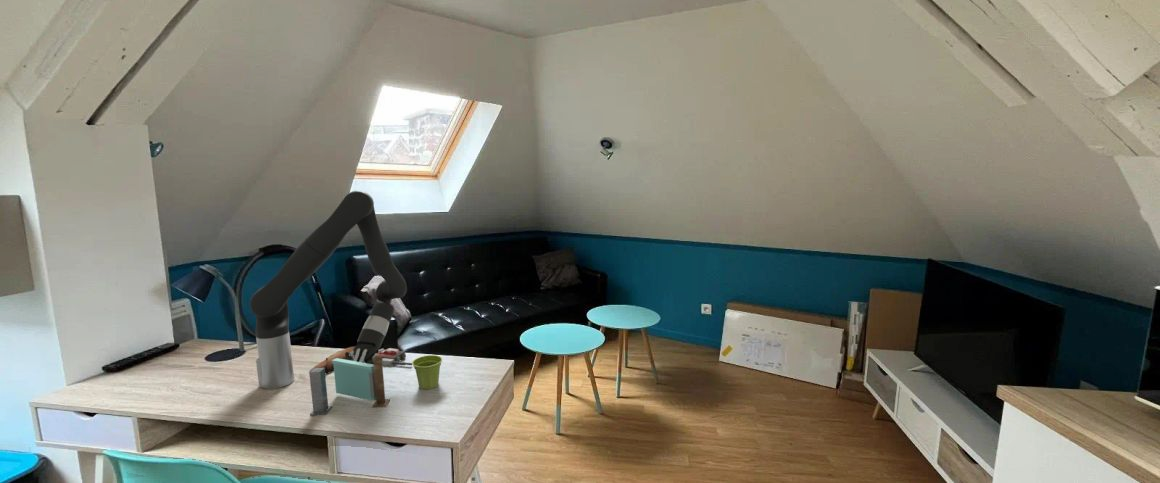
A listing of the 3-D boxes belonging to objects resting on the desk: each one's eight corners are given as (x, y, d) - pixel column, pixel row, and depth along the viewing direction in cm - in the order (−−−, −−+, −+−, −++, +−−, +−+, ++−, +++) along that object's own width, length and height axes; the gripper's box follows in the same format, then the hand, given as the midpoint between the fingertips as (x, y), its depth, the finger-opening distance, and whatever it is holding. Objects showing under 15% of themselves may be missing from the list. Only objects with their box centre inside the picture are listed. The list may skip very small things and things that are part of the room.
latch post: (310, 415, 139) (305, 373, 137) (316, 408, 143) (312, 367, 141) (325, 414, 139) (321, 372, 137) (331, 407, 144) (327, 366, 141)
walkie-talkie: (362, 364, 176) (410, 369, 171) (361, 353, 175) (409, 357, 171) (377, 355, 184) (423, 359, 180) (376, 344, 184) (423, 348, 179)
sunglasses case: (341, 352, 186) (347, 339, 184) (356, 362, 185) (362, 349, 184) (307, 372, 168) (314, 357, 167) (323, 383, 168) (330, 368, 166)
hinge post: (372, 407, 143) (368, 358, 140) (376, 401, 147) (372, 353, 144) (386, 407, 143) (382, 357, 141) (389, 400, 147) (386, 352, 145)
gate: (378, 398, 146) (375, 364, 145) (374, 401, 145) (371, 367, 143) (339, 390, 152) (336, 358, 150) (335, 393, 150) (331, 360, 149)
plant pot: (449, 385, 157) (447, 360, 156) (423, 395, 151) (421, 369, 149) (434, 376, 164) (432, 352, 162) (408, 386, 157) (406, 361, 156)
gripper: (350, 326, 158) (327, 377, 149) (385, 329, 155) (363, 381, 145) (362, 335, 164) (341, 385, 155) (396, 338, 161) (376, 389, 151)
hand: (352, 383), depth 150 cm, fingers closed
